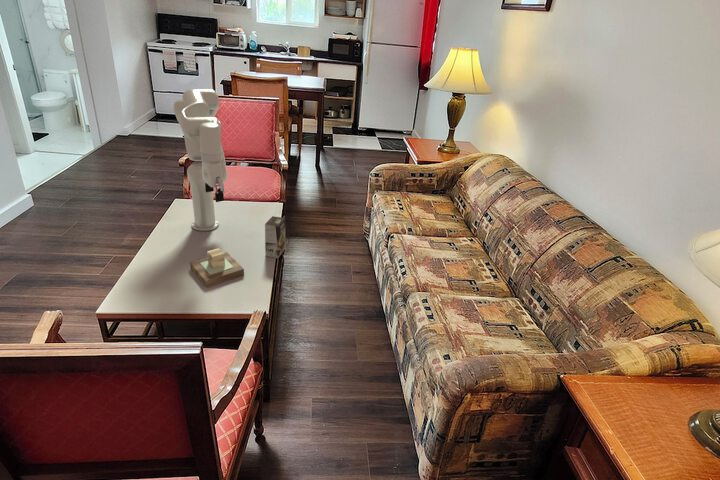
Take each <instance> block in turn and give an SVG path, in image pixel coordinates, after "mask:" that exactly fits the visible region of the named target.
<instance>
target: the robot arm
mask: <svg viewBox="0 0 720 480" xmlns="http://www.w3.org/2000/svg"><path fill="white" fill-rule="evenodd" d="M219 107H220V98H219V95H218V94H217V92H216V90H214V89H211V88H191V89H187V90H185V91H184V92H183V93H182V97H181V99H178V100H175V102H174V103H173V112H174V114H175V115H174V116H175V117H176V120H177V122H178V124H179V126H180V128H181V130H182V133H183V137H184V144H185V149H186V153H187V157H188V159H189V160H190V161H195V162H196V161H199V162H201V163H192V164H191V165H189V166H188V167H187V169H186V172H187V173H186V175H187V179H188V182H189V186H190V192H191V193H190V194H191V200H192V209H193V217H194V218H193V219H194V220H193V221H192V222H191V228H192V229H193V230H196V231H199V232H210V231H212V230H216V229H217V228H218V227H219V226H220V222H219V221H218V220H217V219H216V216H215V215H216V214H215V203H219V202H220V203H221V202H224V201H225V197H224V195H225V194H224V190H225V185H224V182H226V181H227V179H228V170H227V165H226V159H225V152H224V148H223V144H222V135H221V134H222V133H221V132H222V123H221V121H220V120H219V118H217V117H216V114H217V112H218V110H219ZM214 190H215V192H214ZM214 196H215V197H214ZM214 199H215V202H214Z"/></svg>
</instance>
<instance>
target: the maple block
mask: <svg viewBox="0 0 720 480" xmlns="http://www.w3.org/2000/svg"><path fill="white" fill-rule="evenodd" d="M206 255H207V257H208V264H209V265H210V266H211V267H212V268H213V269H217V268H220V267H223V266H225V257H224V251H222V250H221V248H219V247H217V248H214V249H211V250H207V252H206Z"/></svg>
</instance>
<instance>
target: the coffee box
mask: <svg viewBox="0 0 720 480" xmlns="http://www.w3.org/2000/svg"><path fill="white" fill-rule="evenodd" d="M264 244H265V246H264V249H265V250H264V251H265V257H270V258H274V259H279V258H280V257H281V255H282V254H283V252H284V251H285V250H286V217H280V216H271V217H270V218H269V219H268V220H267V221H266V223H265V224H264Z"/></svg>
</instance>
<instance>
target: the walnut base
mask: <svg viewBox="0 0 720 480" xmlns="http://www.w3.org/2000/svg"><path fill="white" fill-rule="evenodd" d="M223 253H224V257H225V266H223V267H220V268H217V269H213V268H212V267H211V266H210V265H209V264H208V256H207V257H203V258H201V259H197V260H193V261H190V262H189V265H190V270H191V271H192V272H193V273H194V274H195V276H197V278H198V279H199V280H200V282H202V285H204V286H205V288H208V287H213V286H215V285H217V284H220V283H221V284H222V283H224V282H227V281H231V280H234V279H237V278H239V277H243V276H244V275H245V269H244V267H243V266H241V264H240V263H239V262H237V261H236V259H234V258H233V257H232V256H231V254H230V253H229V252H227V251H226V252H224V251H223Z"/></svg>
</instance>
